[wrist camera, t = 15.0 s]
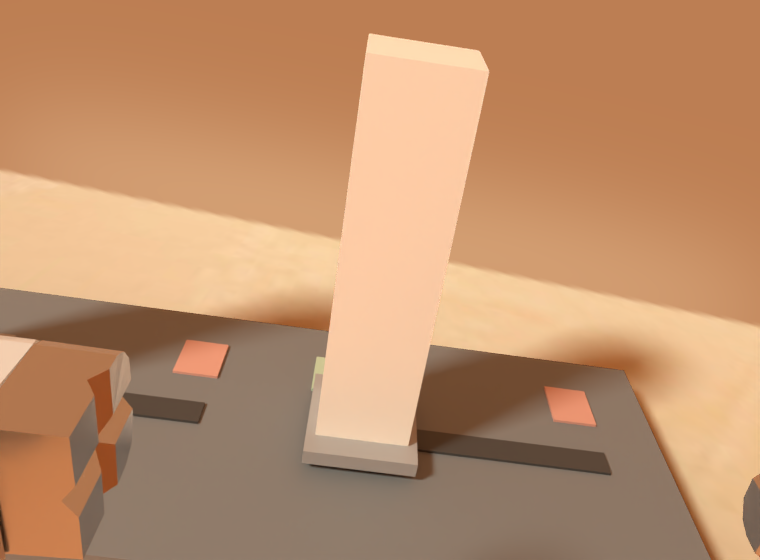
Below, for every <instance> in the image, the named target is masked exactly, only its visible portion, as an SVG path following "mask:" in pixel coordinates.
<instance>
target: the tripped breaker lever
mask: <svg viewBox="0 0 760 560" xmlns="http://www.w3.org/2000/svg"><path fill="white" fill-rule="evenodd" d="M488 75H489V70H488V68H487V66H486V64H485V62H484V59H483V58H482V55H481V53H480V51H478V50H471V49H465V48H459V47H452V46H446V45H440V44H432V43H426V42H420V41H414V40H407V39H401V38H394V37H388V36H382V35H374V34H369V38H368V44H367V50H366V56H365V63H364V71H363V78H362V86H361V93H360V101H359V109H358V117H357V124H356V131H355V139H354V146H353V154H352V161H351V169H350V176H349V184H348V191H347V199H346V206H345V214H344V222H343V230H342V236H341V244H340V252H339V259H338V267H337V274H336V282H335V289H334V297H333V304H332V312H331V319H330V327H329V334H328V342H327V349H326V357H325V365H324V372H323V374H315V380H314V386H313V392H312V399H311V405H310V411H309V417H308V423H307V429H306V436H305V442H304V448H303V455H302V463H306V464H314V465H322V466H330V467H339V468H347V469H355V470H363V471H371V472H379V473H387V474H396V475H404V476H412V477H415V476H416V472H417V467H418V453H417V426H416V408H417V403H418V398H419V394H420V389H421V384H422V380H423V375H424V371H425V366H426V361H427V357H428V352H429V348H430V343H431V338H432V334H433V329H434V324H435V320H436V315H437V311H438V306H439V301H440V297H441V292H442V287H443V283H444V278H445V274H446V269H447V264H448V260H449V255H450V251H451V245H452V241H453V237H454V232H455V227H456V223H457V218H458V213H459V209H460V204H461V200H462V195H463V190H464V186H465V181H466V176H467V172H468V167H469V163H470V158H471V154H472V149H473V144H474V140H475V135H476V131H477V125H478V121H479V117H480V112H481V107H482V103H483V98H484V94H485V89H486V84H487V80H488Z"/></svg>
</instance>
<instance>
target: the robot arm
mask: <svg viewBox="0 0 760 560" xmlns="http://www.w3.org/2000/svg"><path fill="white" fill-rule="evenodd" d="M130 381H131V374H130V363H129V357H128V356H127V355H126V353H125V352H124V351H117V350H110V349H103V348H95V347H88V346H81V345H73V344H66V343H59V342H52V341H44V340H42V341H39V340H35V339H27V338H19V337H11V336H2V335H0V560H4V559H5V558H6V556H5V554H16V555H29V556H42V557H56V558H69V559H82V560H83V559H84V557H85V555H86V552H87V550H88V548H89V546H90V544H91V542H92V539H93V537H94V535H95V533H96V531H97V529H98V526H99V524H100V522H101V520H102V518H103V516H104V514H105V512H104V499H103V494H104V493H105V492H107V491H108V490H110V489H111V488H113V487H115V486H116V485H118V483H119V480H120V478H121V476H122V473H123V471H124V469H125V467H126V463H127V459H128V455H129V451H130V447H131V443H132V433H133V408H132V407H131V406H130V405H129V404H128V403H127V401H126V400H125V399H124V398H123V397H122V396H123V395H124V393H125V391H126V389H127V387H128V385H129V383H130ZM743 522H744V527H745V531H746V535H747V538H748V540H749V542H750V544H751V546H752V548H753V550H754V552H755V553H756V554H757V555H758V556H759V557H760V474H759V475H757V476H756V477H754V478H753V479H752V481H751V484H750V486H749V488H748V490H747V492H746V494H745V497H744V504H743Z"/></svg>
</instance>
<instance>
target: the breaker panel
mask: <svg viewBox="0 0 760 560" xmlns="http://www.w3.org/2000/svg"><path fill="white" fill-rule="evenodd" d="M0 333H2V334H10V335H16V337H19V338H27V339H35V340H39V341H42V340H44V341H52V342H59V343H66V344H73V345H81V346H88V347H95V348H103V349H110V350H117V351H124V352H125V353H126V355H127V356H128V357H129V363H130V374H131V381H130V383H129V385H128V387H127V389H126V391H125V393H124V395H123V396H122V397H123V398H124V399H125V400H126V401H127V403H128V404H129V405H130V406H131V407H132V408H133V433H132V443H131V447H130V451H129V455H128V459H127V463H126V467H125V469H124V471H123V473H122V476H121V478H120V480H119V483H118V485H116V486H115V487H113V488H111V489H110V490H108V491H107V492H105V493H104V494H103V499H104V512H105V514H104V516H103V518H102V520H101V522H100V524H99V526H98V529H97V531H96V533H95V535H94V537H93V539H92V542H91V544H90V546H89V548H88V550H87V552H86V555H85V557H84V559H83V560H711V558H710V556H709V554H708V552H707V550H706V548H705V545H704V543H703V541H702V539H701V537H700V535H699V532H698V530H697V528H696V526H695V524H694V522H693V519H692V517H691V515H690V513H689V511H688V509H687V506H686V504H685V502H684V500H683V498H682V496H681V494H680V491H679V489H678V487H677V485H676V483H675V481H674V478H673V476H672V474H671V472H670V470H669V468H668V465H667V463H666V461H665V459H664V457H663V455H662V452H661V450H660V448H659V446H658V444H657V442H656V439H655V437H654V435H653V433H652V431H651V429H650V426H649V424H648V422H647V420H646V418H645V416H644V413H643V411H642V409H641V407H640V405H639V403H638V400H637V398H636V396H635V394H634V392H633V390H632V387H631V385H630V383H629V381H628V379H627V377H626V374H625V372H624V370H617V369H609V368H602V367H594V366H587V365H579V364H571V363H564V362H556V361H549V360H541V359H534V358H526V357H519V356H511V355H504V354H496V353H488V352H481V351H473V350H466V349H458V348H451V347H443V346H436V345H430V348H429V352H428V357H427V361H426V366H425V371H424V375H423V380H422V384H421V389H420V394H419V398H418V403H417V408H416V426H417V453H418V467H417V472H416V476H415V477H412V476H404V475H396V474H387V473H379V472H371V471H363V470H355V469H347V468H339V467H330V466H322V465H314V464H306V463H302V455H303V448H304V442H305V436H306V429H307V423H308V417H309V411H310V405H311V399H312V392H313V386H314V380H315V374H323V372H324V365H325V357H326V349H327V342H328V334H329V331H322V330H315V329H307V328H300V327H292V326H285V325H277V324H270V323H262V322H255V321H247V320H239V319H232V318H224V317H217V316H209V315H202V314H194V313H187V312H179V311H172V310H164V309H156V308H149V307H141V306H134V305H126V304H119V303H111V302H104V301H96V300H88V299H81V298H73V297H66V296H58V295H51V294H43V293H36V292H28V291H21V290H13V289H5V288H0ZM5 556H6V558H5V559H4V560H82V559H69V558H56V557H42V556H29V555H16V554H5Z"/></svg>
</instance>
